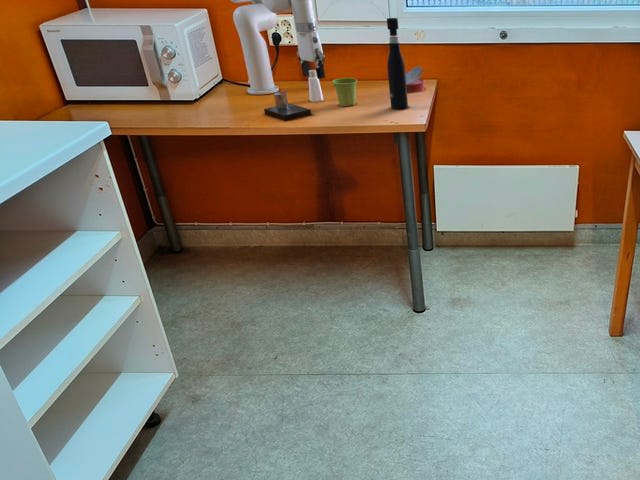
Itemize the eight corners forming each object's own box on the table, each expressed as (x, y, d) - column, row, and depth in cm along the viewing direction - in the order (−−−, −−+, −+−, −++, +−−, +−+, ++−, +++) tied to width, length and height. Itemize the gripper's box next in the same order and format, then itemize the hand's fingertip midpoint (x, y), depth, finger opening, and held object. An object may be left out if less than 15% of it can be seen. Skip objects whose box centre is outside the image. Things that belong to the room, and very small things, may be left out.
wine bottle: (410, 106, 242) (404, 17, 225) (403, 110, 237) (396, 20, 220) (395, 105, 244) (387, 17, 227) (388, 109, 239) (379, 19, 222)
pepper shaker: (317, 102, 249) (312, 72, 243) (307, 101, 251) (302, 71, 245) (326, 99, 253) (322, 69, 246) (316, 98, 255) (312, 68, 249)
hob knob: (280, 109, 233) (277, 94, 230) (274, 107, 236) (271, 92, 232) (290, 107, 235) (288, 92, 232) (284, 105, 238) (281, 90, 235)
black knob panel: (264, 114, 236) (263, 108, 235) (290, 108, 242) (289, 102, 241) (285, 121, 228) (284, 115, 227) (311, 115, 234) (310, 108, 233)
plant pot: (362, 101, 249) (360, 78, 244) (356, 107, 242) (353, 83, 237) (339, 101, 250) (336, 77, 245) (332, 107, 242) (329, 83, 237)
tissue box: (423, 102, 265) (423, 82, 256) (399, 99, 265) (398, 79, 256) (425, 83, 270) (425, 63, 261) (402, 81, 270) (401, 60, 261)
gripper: (327, 28, 234) (335, 77, 244) (301, 24, 244) (309, 72, 254) (310, 30, 230) (318, 81, 240) (284, 27, 240) (293, 76, 250)
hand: (314, 77), depth 247 cm, fingers open, 9 cm apart
